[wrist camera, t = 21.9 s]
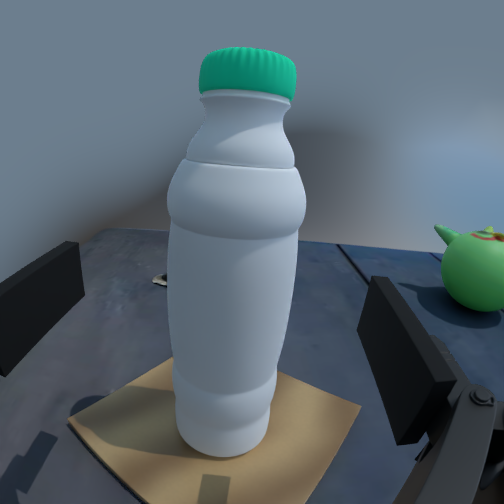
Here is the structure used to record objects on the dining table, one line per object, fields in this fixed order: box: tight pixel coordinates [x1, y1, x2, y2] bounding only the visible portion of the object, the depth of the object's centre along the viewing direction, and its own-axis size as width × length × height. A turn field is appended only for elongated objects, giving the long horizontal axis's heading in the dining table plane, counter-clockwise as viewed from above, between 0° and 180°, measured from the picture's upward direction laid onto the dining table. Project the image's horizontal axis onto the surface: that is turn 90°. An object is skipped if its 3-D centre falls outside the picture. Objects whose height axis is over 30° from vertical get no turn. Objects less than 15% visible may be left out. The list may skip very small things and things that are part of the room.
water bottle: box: [167, 47, 306, 457], centre depth 18 cm, size 7×7×25 cm
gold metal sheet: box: [67, 357, 361, 504], centre depth 22 cm, size 18×18×1 cm
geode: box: [152, 273, 167, 285], centre depth 46 cm, size 7×8×2 cm
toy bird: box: [434, 225, 504, 312], centre depth 45 cm, size 18×17×15 cm
